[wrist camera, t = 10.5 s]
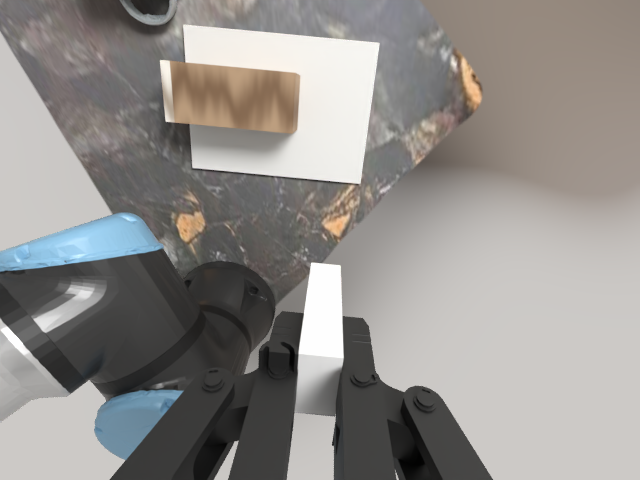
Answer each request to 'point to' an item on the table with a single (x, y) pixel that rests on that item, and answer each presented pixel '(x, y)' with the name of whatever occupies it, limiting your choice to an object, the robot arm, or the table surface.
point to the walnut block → (230, 96)
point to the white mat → (314, 104)
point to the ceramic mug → (147, 17)
